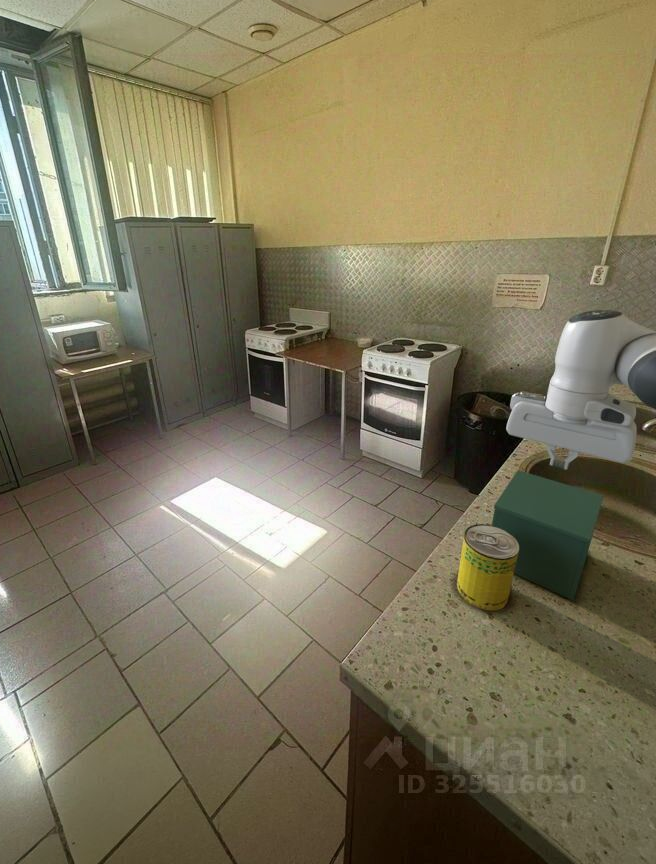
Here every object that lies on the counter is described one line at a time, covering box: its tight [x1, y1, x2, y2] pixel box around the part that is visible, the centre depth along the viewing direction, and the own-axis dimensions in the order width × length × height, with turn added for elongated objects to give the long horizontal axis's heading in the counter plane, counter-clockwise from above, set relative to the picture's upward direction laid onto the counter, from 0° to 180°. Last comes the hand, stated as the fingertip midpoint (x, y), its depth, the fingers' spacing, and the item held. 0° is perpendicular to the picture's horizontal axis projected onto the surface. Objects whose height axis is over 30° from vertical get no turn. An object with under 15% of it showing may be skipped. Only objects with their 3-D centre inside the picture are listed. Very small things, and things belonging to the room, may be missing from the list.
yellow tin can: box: [456, 523, 519, 611], centre depth 73 cm, size 9×9×12 cm
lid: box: [493, 469, 604, 544], centre depth 78 cm, size 17×16×1 cm
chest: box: [491, 508, 591, 601], centre depth 81 cm, size 16×16×14 cm
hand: (558, 466), depth 77 cm, fingers closed
